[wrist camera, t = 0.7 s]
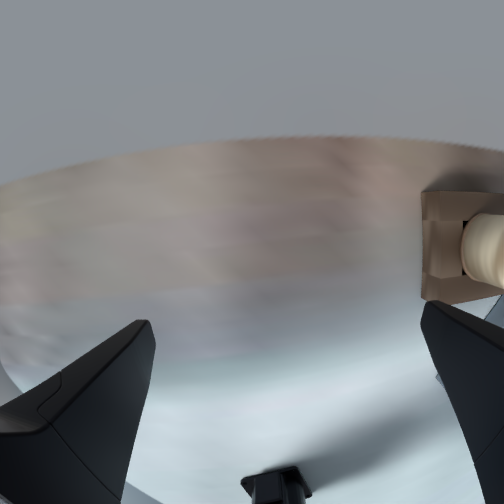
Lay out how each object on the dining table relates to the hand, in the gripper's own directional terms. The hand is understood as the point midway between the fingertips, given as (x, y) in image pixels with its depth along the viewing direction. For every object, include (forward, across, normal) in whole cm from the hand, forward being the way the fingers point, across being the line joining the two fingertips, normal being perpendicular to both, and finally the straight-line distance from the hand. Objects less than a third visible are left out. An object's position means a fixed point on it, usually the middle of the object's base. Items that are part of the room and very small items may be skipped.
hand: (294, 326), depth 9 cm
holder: (+14, -18, +3) cm, 23 cm away
